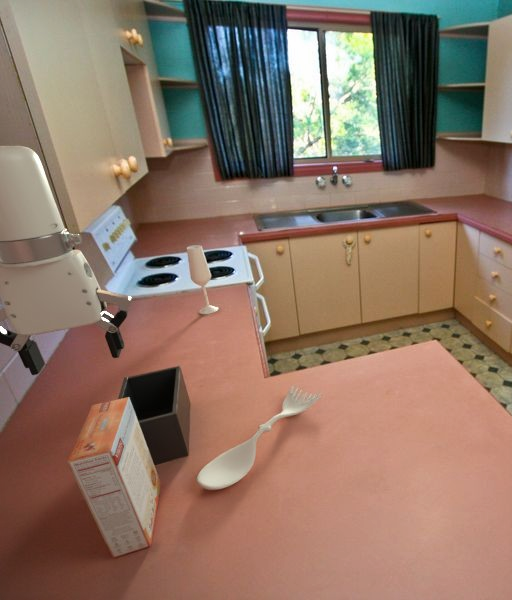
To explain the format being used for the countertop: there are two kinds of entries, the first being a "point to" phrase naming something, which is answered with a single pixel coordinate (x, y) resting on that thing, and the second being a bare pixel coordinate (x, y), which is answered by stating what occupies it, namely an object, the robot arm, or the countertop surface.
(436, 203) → the countertop surface
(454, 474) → the countertop surface
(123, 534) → the cracker box
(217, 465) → the spoon
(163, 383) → the open box
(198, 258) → the champagne flute
